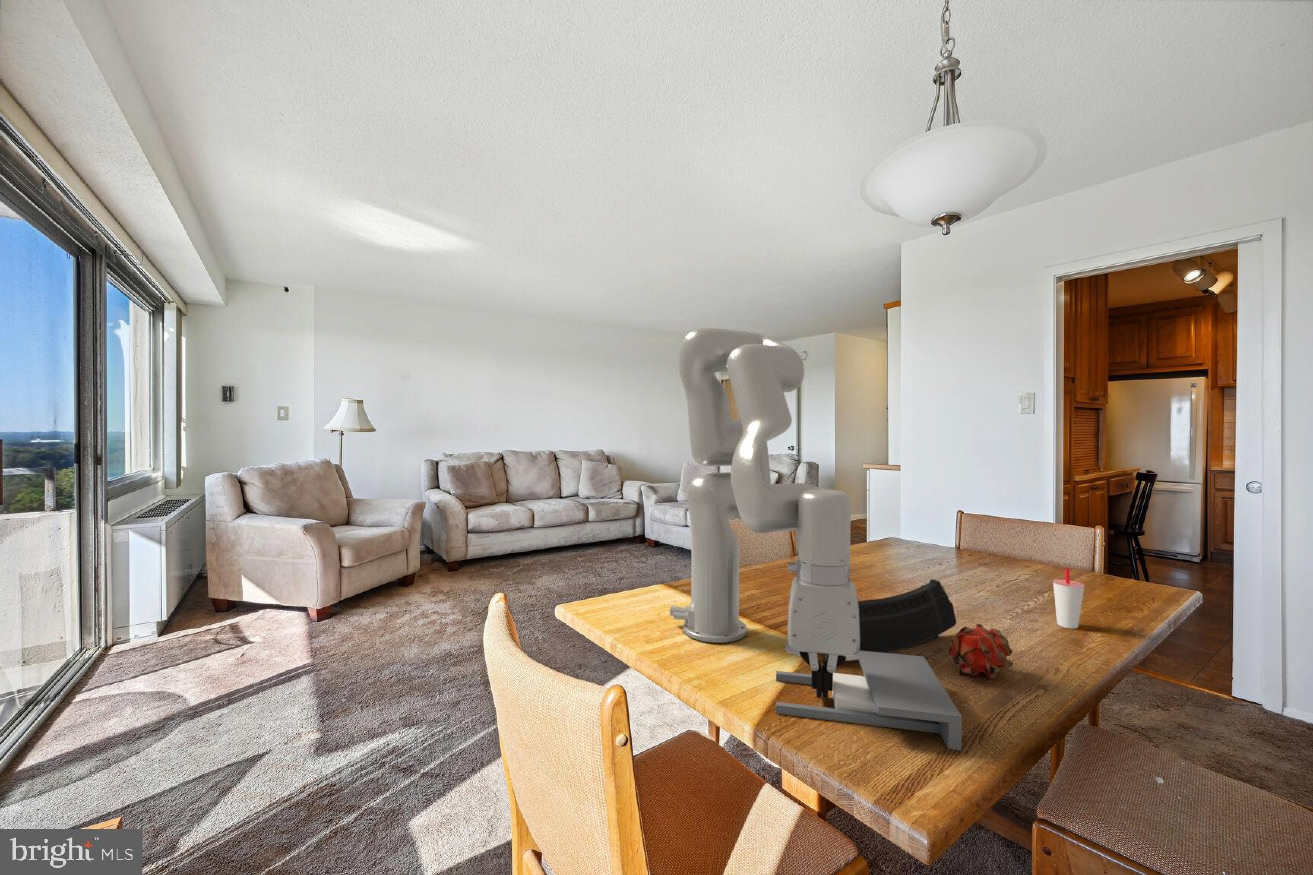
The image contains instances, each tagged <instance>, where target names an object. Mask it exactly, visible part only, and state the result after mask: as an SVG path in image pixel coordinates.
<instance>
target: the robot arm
mask: <svg viewBox="0 0 1313 875" xmlns="http://www.w3.org/2000/svg"><path fill="white" fill-rule="evenodd" d="M678 355H679V356H678V370H679V375H680V379H681V382H682V386H683V389H684V392H685V397H686V402H687V417H688V428H689V429H688V430H689V440H690V441H689V443H690V450H691V455H692V458H693V460H694V462H696V463H697V464H698V465H700V466H706V467H730V471H729V472H727V471H726V472H711V473H704V474H700V475H697V476H696V477H695V478H693V479H692V480H691V482H689V484H688V486H687V490H686V502H687V503H686V504H687V509H688V513H689V520H690V534H691V536H690V537H691V539H690V540H691V541H690V542H691V548H690V549H691V550H690V551H691V552H690V553H691V561H690V562H691V563H690V564H691V569H690V570H691V572H690V573H691V580H690V583H691V584H690V585H691V587H690V588H691V589H690V592H691V594H690V597H691V598H690V605H685V607H681V606H677V605H676V606H674V605H670V607H669V616H670V617H672V616H673V620H679V621H680V620H682V621H684V622H683V624H682V625H683V627H682V630H683V632H684V634H685V635H687V636H688V637H690V638H691V639H695V640H697V641H701V642H705V643H713V644H715V643H716V644H717V643H718V644H719V643H721V644H722V643H725V644H726V643H731V642H736V641H739V640H741V639H742V638H744V637H745V636H746V635H747V632H748V631H747V630H748V628H747V625H746V623H745V622H744V621H743V620H741V619H740V542H739V539H738V536H737V534H736V533H735V531H734V529H733V528H732V526H731V524H730V521H734V520H742V522H743V523H744V525H745V526H746V527H747V528H748V529H749V530H750V531H752V532H754V533H758V534H767V533H768V534H769V533H777V532H788V531H789V532H790V531H797V560H795V562H794V561H793V562H787V572H790V573H793V574H795V577H793V579H792V583H791V586H790V593H789V600H788V610H787V611H788V612H787V639H786V643H785V651H786V652H787V653H788V654H792V655H794V656H797V657H798V656H799V657H801V659H802V660H803V661H804V662H805V663H806V664H807V665H808V666H809V668H810V669H811V690H815V692H816V694H815V695H816V698H817V699H822V698H824V699H825V700H828V699H829V691H831V692H832V691H833V673H836V669H837V668H838V667H840V666H841V665H842V664H843V663H845V661H849V662H850V661H857V660H859V659H860V657H861V655H860V651H859V650H860V619H859V605H858V601H859V598H858V592H857V587H856V584H855V583H854V582H853V581H851V579H850V578H851V525H852V524H851V520H852V518H851V517H852V516H851V514H852V513H851V511H852V503H851V501H852V500H851V498H850V496H849V495H848V494H847V493H846V492H844V491H842V490H836V489H827V488H820V487H819V486H816V485H813V484H809V483H807V482H806V483H805V482H804V483H803V482H802V483H801V482H797V483H772V479H771V468H770V459H769V458H770V457H769V446H768V442H769V441H771V440H773V439H775V438H777V437H779V436H780V435H782V434H784V433H785V432H786V431H787V430H788V429H789V428H790V427H791V425H792V422H793V419H792V415H791V411H790V408H789V406H788V401H787V399H786V398H787V397H786V396H785V393H790V392H793V391H795V390H797V389H798V388H800V386H801V385H802V382H803V380H804V377H805V365H804V362H803V359H802V357H801V356H800V354H799V353H798V352H797V350H795V349H794V348H793V347H791V346H789V345H787V344H785V343H782V342H780V341H778V340H776V339H774V338H772V337H770V336H767V335H765V334H763V333H759V332H754V331H745V330H743V331H742V330H735V329H728V328H717V327H716V328H715V327H703V328H697V329H694V330H692V331H690V332H688V334H686V335H685V337H684V338H683V340H682V342H681V345H680V349H679V354H678ZM716 373H722V374H723V373H724V374H727V375H728V376H727V377H728V380H729V383H730V386H731V387H730V388H731V391H732V394H733V399H734V402H735V407H736V409H737V413H738V418H739V419H733V418H732V415H731V409H730V408H731V407H730V398H729V394H728V392H727V390H726V388H725V387H724V385H723V383H722V382H721V381H720V380H719V378H718V377H717V376H716ZM820 653H821V654H820ZM818 654H820V655H822V654H826V657H825V660H824V661H823V663H822V665H821V661H820V660H819V659H818Z"/></svg>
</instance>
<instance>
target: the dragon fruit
mask: <svg viewBox="0 0 1313 875" xmlns="http://www.w3.org/2000/svg"><path fill="white" fill-rule="evenodd" d="M975 625H976V626H975V628H971V627H968V626H963V627H962V628H960V629H959V631H957V633H955V635H954V636H952V638H951V639H950V646H949V648H948V655H950V658H951V660H952V661H953V663H954V664H955V665H958V666H960V668H959V670H958V671H957V672H958V673H959V674H960V675H961V674H962V675H963V674H964V675H968V676H976V675H978V674H980V673H984V675H985V676H986V678H988V679H989V680H990V679H991V680H992V679H993V678H995V677H998V676H999V671H1001V669H1000V668H1003V669H1006V670H1007V669H1011V668H1012V667H1013V666H1014V663H1013V661H1011V659H1008V658H1007V657H1011V656H1012V654H1013V653H1014V652H1013V649H1012V648H1011V646H1010V644H1009V640H1008V638H1007V637H1005V636H1004V635H1003V634H1002V633H1001V631H1000V630H999V629H996V628H993V627H991V628H990V629H986V628H984V626H983V624H980V623H976V624H975Z"/></svg>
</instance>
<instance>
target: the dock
mask: <svg viewBox="0 0 1313 875" xmlns="http://www.w3.org/2000/svg"><path fill="white" fill-rule="evenodd" d="M860 655H861V657H860V659H858V661H859V664H860V668H861V671H862V673H863V676H865V679H866V682H867V685H868V688H869V691H870V693H871V696H872V699H873V702H874V705H875V708H876V710H877V713H878V714H877V713H868V712H860V711H851V710H842V709H835V707H834V708H832V707H825V706H815V705H807V704H806V705H805V704H798V703H790V702H781V701H775V707H776V708H775V714H776V715H783V716H792V717H793V716H794V717H802V718H807V719H808V718H809V719H810V718H811V719H816V720H826V721H827V720H828V721H833V722H842V723H848V724H849V723H850V724H859V725H866V726H867V725H868V726H875V727H884V728H892V729H898V730H900V729H901V730H909V731H916V732H926V733H932V734H933V733H935V734H940V737H941V738H942V740H943V742H944V743H945V745H946V747H947V749H948V750H955V751H962V740H963V738H962V735H963V731H962V730H963V729H962V728H963V715H962V714H961V712H960V711H959V709H958V707H957V706H956V704H955V703H954V702H953V700H952V698H951V697H950V695H949V694H948V692H947V690H946V689H945V688H944V686H943V685H942V682H941V681H940V680H939V678H938V677H937V675H936V673H935V672H934V670H933V668H932V667H931V666H930V664H929V662H928V661H927V659H926V658H925V656H921V655H920V656H919V655H913V654H912V655H911V654H910V655H909V654H901V653H900V654H899V653H892V652H888V653H880V652H870V651H860ZM775 681H776V682H784V683H793V684H802V685H811V674H809V673H801V672H800V673H799V672H791V671H782V670H775Z"/></svg>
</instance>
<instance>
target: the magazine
mask: <svg viewBox="0 0 1313 875" xmlns="http://www.w3.org/2000/svg"><path fill="white" fill-rule="evenodd" d="M858 605H859V619H860V650H859V651H870V652H880V653H892V652H893V653H894V652H897V651H901V650H904V649H908V648H912V647H913V646H917V645H919V644H921V643H924V642H927V641H928V640H930V639H933V638H934V639H937V640H939V639H940V636H939V635H941V634H943V633H945V632H946V631H949V630H950V629H952V628H953V627H955V625H956V624H957V619H956V618H957V617H956V614H955V609H954V605H953V602H952V601H950V598H949V596H948V593H947V591H946V589H945V587H944V585H943V584H942V583H941V581H940V580H937V579H932V578H931V579H930V580H929V583H927V584H922V585H921V586H920V587H917V588H915V589H912V590H909V591H906V592H904V593H901V594H896V595H893V596H888V597H883V598H875V599H867V600H866V599H865V600H858ZM819 654H820V655H822V656H823V657H825V658H826V654H821V653H819Z"/></svg>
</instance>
